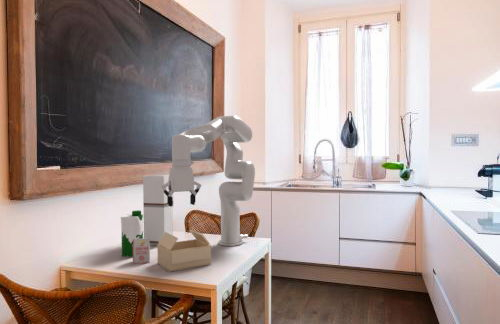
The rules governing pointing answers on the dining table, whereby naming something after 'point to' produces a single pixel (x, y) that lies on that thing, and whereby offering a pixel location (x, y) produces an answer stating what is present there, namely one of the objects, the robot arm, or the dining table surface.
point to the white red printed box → (141, 250)
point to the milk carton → (131, 231)
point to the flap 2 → (199, 236)
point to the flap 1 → (168, 241)
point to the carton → (184, 255)
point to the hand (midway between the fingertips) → (181, 205)
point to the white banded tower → (156, 208)
